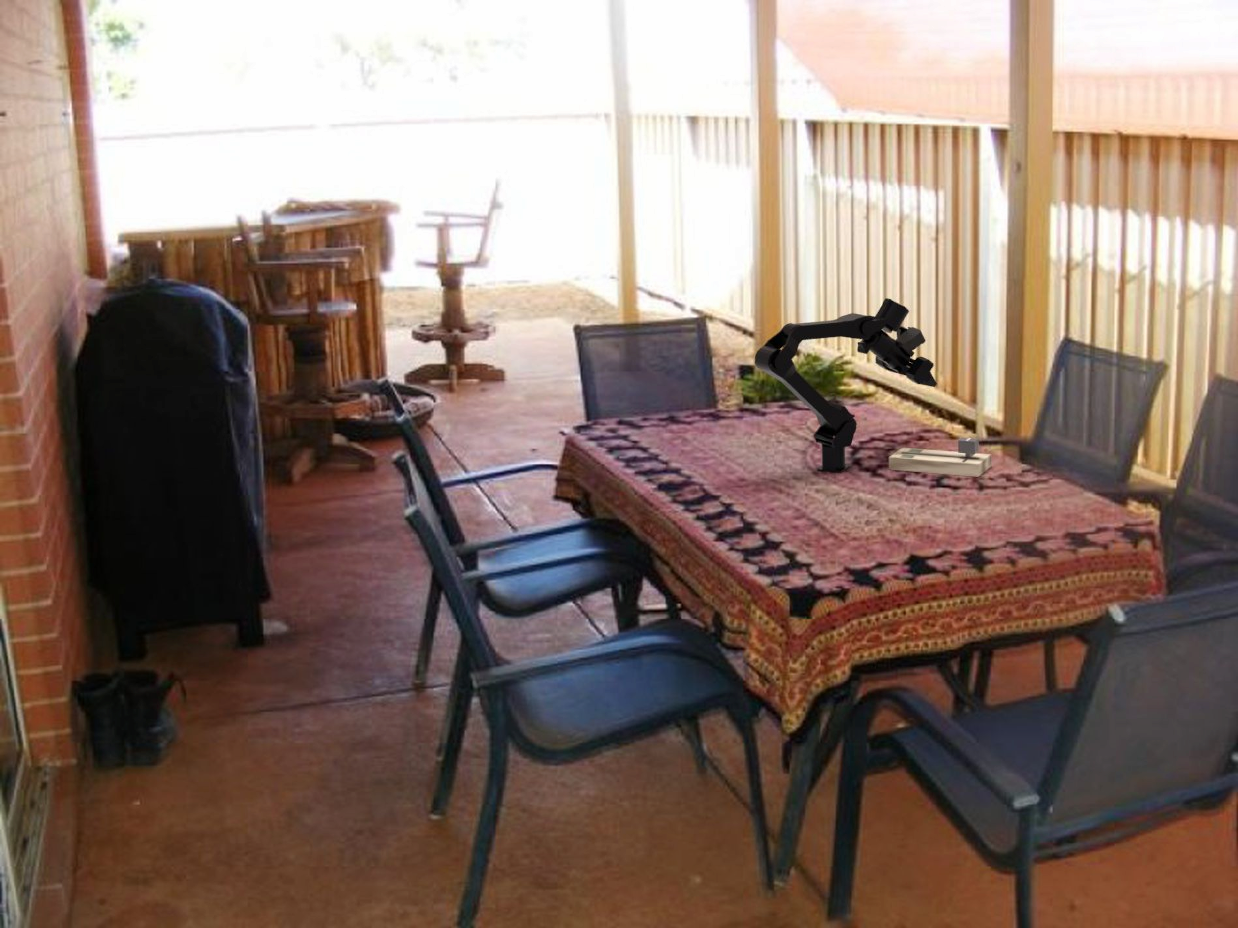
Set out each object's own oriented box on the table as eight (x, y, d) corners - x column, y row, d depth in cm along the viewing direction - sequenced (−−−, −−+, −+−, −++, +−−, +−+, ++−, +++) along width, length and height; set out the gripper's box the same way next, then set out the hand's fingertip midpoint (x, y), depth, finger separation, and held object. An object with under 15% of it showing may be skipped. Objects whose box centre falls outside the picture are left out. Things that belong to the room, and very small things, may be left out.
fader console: (978, 476, 353) (978, 463, 353) (888, 469, 364) (888, 456, 363) (991, 466, 362) (991, 453, 361) (903, 459, 373) (902, 447, 372)
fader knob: (974, 458, 356) (974, 441, 355) (958, 457, 358) (958, 440, 357) (978, 455, 359) (978, 438, 358) (962, 454, 361) (962, 437, 360)
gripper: (925, 328, 359) (965, 363, 367) (883, 312, 376) (923, 345, 383) (898, 367, 360) (939, 400, 367) (857, 349, 376) (897, 381, 383)
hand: (925, 380), depth 375 cm, fingers open, 9 cm apart
